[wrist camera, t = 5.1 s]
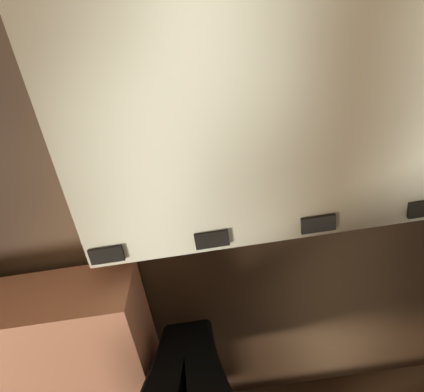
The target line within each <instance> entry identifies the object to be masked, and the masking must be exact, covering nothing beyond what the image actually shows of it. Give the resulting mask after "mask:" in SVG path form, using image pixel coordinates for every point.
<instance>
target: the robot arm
mask: <svg viewBox="0 0 424 392" xmlns="http://www.w3.org/2000/svg"><path fill="white" fill-rule="evenodd" d="M140 392H233V391H232V389H231V387H230V384H229V382H228V379H227V377H226V374H225V372H224V370H223V367H222V364H221V362H220V359H219V356H218V353H217V350H216V346H215V340H214V335H213V330H212V324H211V321H209V320H207V319H204V320H197V321H190V322H183V323H176V324H169V325H166V326H165V327H164V329H163V333H162V336H161V339H160V342H159V345H158V348H157V351H156V354H155V356H154V359H153V362H152V364H151V367H150V369H149V372H148V374H147V376H146V379H145V381H144V383H143V386H142V388H141V390H140Z"/></svg>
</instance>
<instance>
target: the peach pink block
mask: <svg viewBox="0 0 424 392" xmlns="http://www.w3.org/2000/svg"><path fill="white" fill-rule="evenodd" d="M158 345H159V340H158V337H157V333H156V330H155V326H154V323H153V319H152V316H151V312H150V309H149V305H148V301H147V298H146V294H145V291H144V287H143V284H142V280H141V277H140V273H139V270H138V266H137V263H136V262H132V263H125V264H118V265H111V266H104V267H97V268H90V266H89V264H88V265H82V266H75V267H68V268H61V269H54V270H47V271H40V272H33V273H27V274H20V275H13V276H6V277H0V392H140V390H141V388H142V386H143V383H144V381H145V379H146V376H147V374H148V372H149V369H150V367H151V364H152V362H153V359H154V356H155V354H156V351H157V348H158Z"/></svg>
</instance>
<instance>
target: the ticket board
mask: <svg viewBox="0 0 424 392" xmlns="http://www.w3.org/2000/svg"><path fill="white" fill-rule="evenodd" d="M132 262H136V263H137V266H138V270H139V273H140V277H141V280H142V284H143V287H144V291H145V294H146V298H147V301H148V305H149V309H150V312H151V316H152V319H153V323H154V326H155V330H156V333H157V337H158V340H159V342H160V339H161V336H162V333H163V329H164V327H165V326H166V325H169V324H176V323H183V322H190V321H197V320H204V319H207V320H209V321H211V324H212V330H213V335H214V340H215V346H216V350H217V353H218V356H219V359H220V362H221V364H222V367H223V370H224V372H225V374H226V377H227V379H228V382H229V384H230V387H231V389H232V391H233V392H424V0H0V277H6V276H13V275H20V274H27V273H33V272H40V271H47V270H54V269H61V268H68V267H75V266H82V265H88V264H89V266H90V268H97V267H104V266H111V265H118V264H125V263H132Z"/></svg>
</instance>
